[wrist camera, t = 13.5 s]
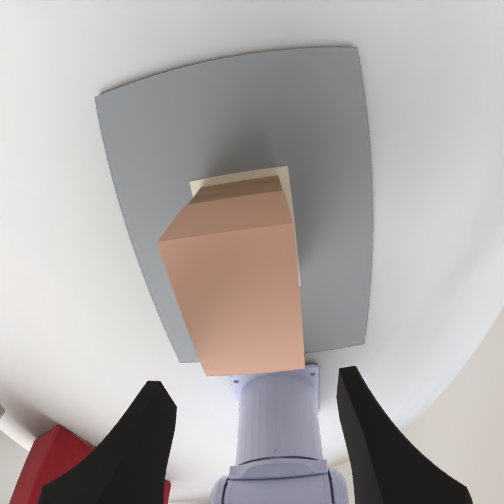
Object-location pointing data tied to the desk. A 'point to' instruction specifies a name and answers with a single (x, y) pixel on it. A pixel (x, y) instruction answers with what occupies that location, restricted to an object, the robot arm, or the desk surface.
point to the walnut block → (237, 189)
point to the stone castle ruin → (1, 411)
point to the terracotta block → (238, 283)
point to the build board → (253, 170)
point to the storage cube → (53, 464)
